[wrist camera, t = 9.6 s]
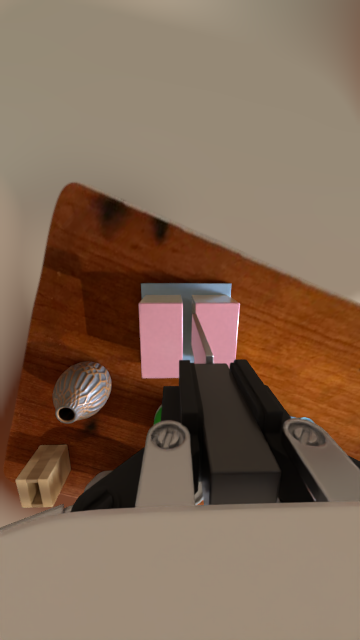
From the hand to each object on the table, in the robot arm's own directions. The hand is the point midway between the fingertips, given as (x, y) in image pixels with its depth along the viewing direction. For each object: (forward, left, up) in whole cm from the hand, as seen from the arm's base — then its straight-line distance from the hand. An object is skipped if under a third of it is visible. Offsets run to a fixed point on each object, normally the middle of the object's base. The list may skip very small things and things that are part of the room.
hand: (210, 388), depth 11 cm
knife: (0, 0, -10) cm, 10 cm away
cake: (+3, 0, -21) cm, 21 cm away
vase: (+11, -14, -21) cm, 27 cm away
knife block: (+26, -22, -21) cm, 40 cm away
